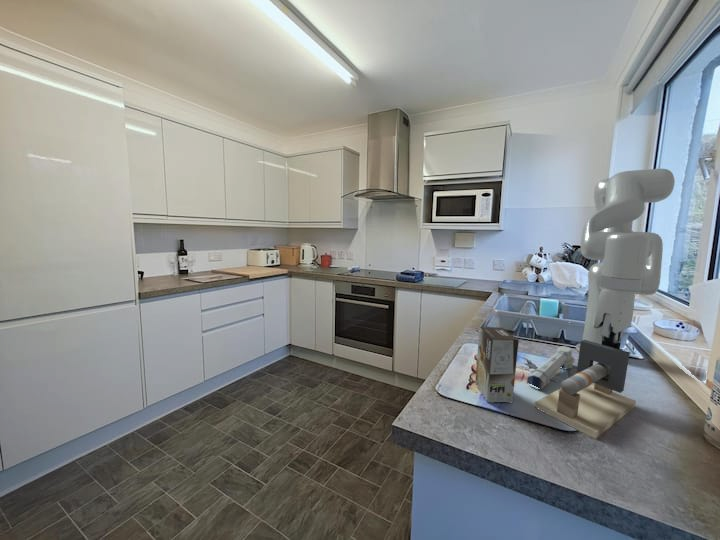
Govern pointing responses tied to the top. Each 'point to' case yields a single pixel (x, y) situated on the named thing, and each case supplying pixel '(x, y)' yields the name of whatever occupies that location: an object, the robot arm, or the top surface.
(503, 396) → the coffee box
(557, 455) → the top surface
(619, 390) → the collar
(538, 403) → the pipe rig
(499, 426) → the top surface
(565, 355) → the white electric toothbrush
